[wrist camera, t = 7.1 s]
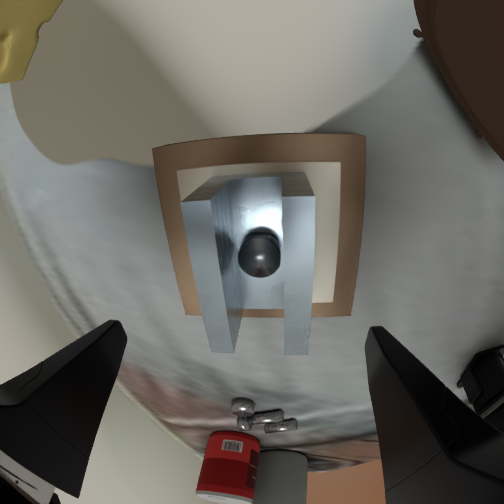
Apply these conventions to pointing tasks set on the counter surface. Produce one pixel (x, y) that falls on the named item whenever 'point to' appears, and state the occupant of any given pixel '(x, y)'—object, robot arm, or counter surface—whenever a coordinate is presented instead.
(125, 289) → the counter surface
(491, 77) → the alarm clock
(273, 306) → the housing
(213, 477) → the canned food
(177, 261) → the picture frame
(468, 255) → the counter surface
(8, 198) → the counter surface
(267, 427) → the loose bolts
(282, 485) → the water bottle
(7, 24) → the cheese
